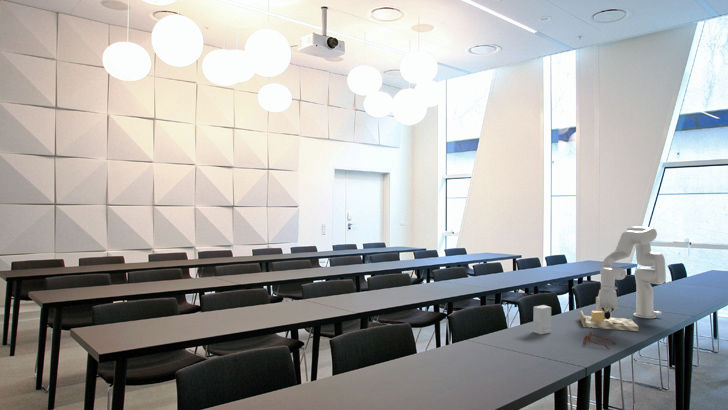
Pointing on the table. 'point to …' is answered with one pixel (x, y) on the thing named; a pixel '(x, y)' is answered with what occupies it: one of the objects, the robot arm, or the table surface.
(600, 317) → the ochre block
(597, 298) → the supplement box
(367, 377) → the table surface
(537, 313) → the skincare box
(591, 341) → the glasses
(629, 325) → the cream sorting tray
